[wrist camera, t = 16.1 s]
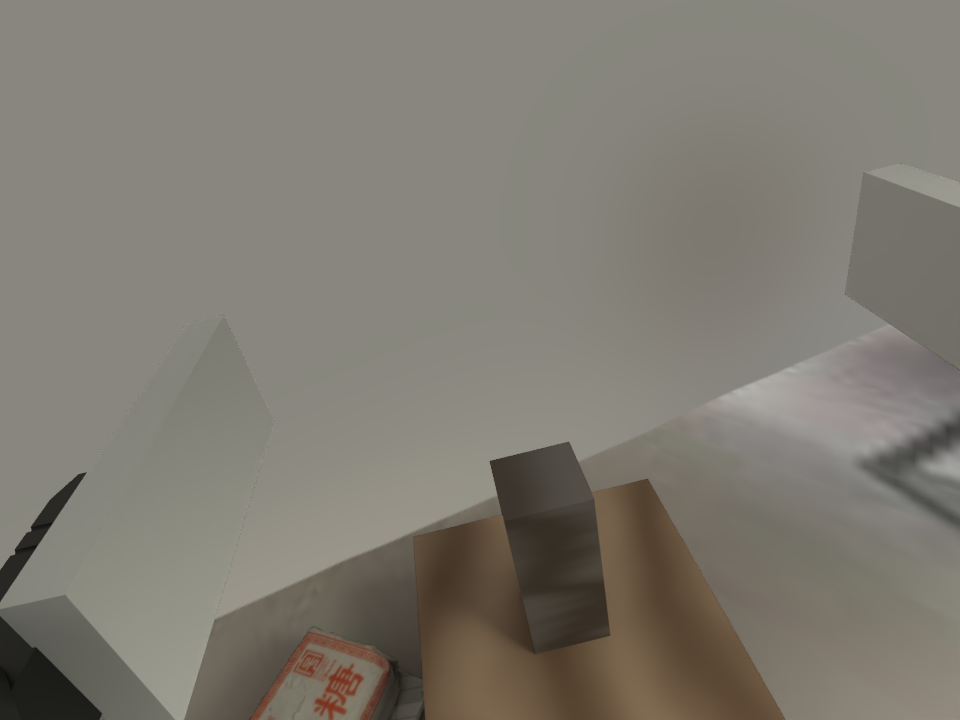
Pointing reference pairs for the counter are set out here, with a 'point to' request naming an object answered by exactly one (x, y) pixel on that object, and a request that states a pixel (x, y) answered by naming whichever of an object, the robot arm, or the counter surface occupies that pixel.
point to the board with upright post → (575, 609)
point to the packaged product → (341, 684)
